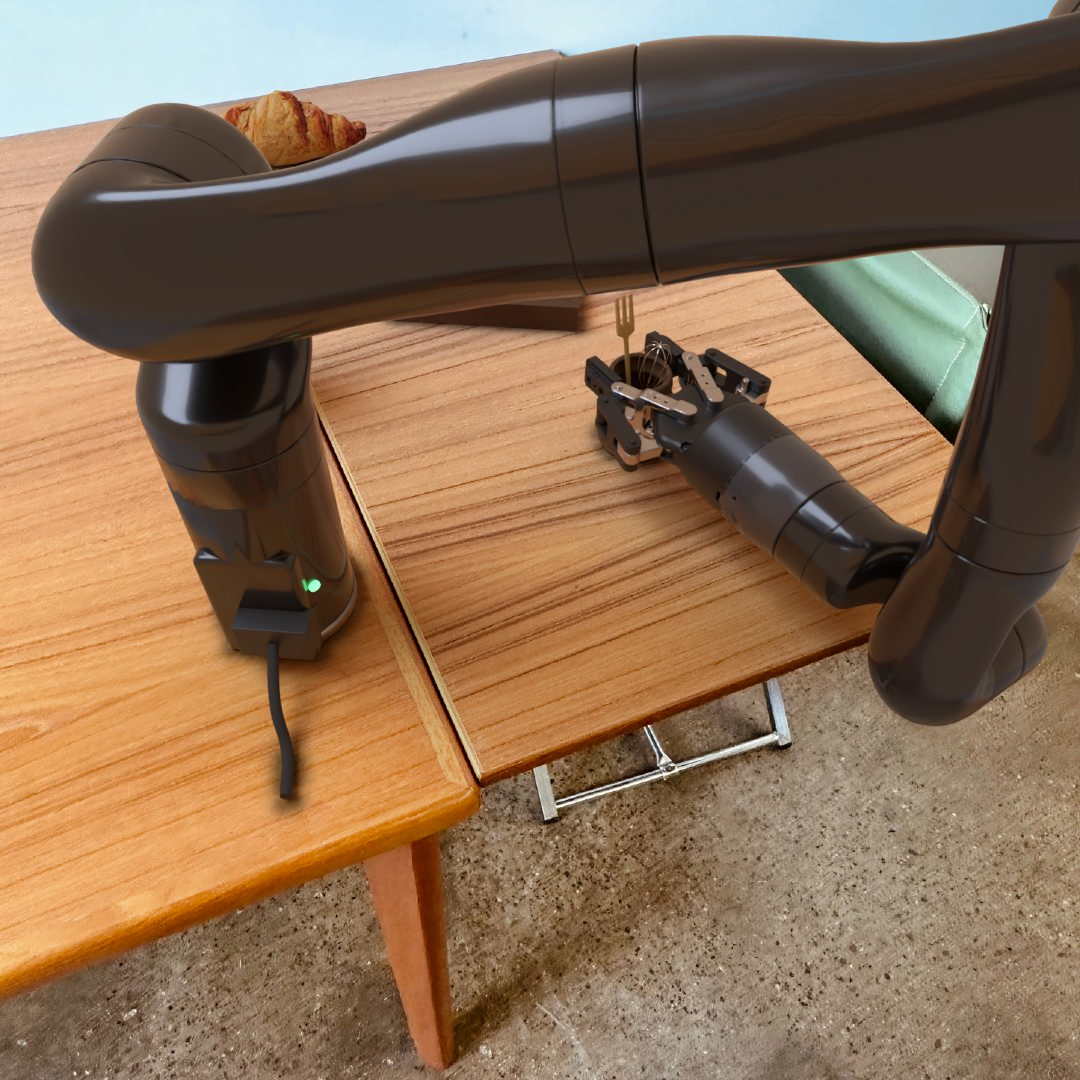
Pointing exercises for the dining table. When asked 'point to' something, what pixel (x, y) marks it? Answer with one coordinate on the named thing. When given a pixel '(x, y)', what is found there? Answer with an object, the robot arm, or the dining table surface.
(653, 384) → the utensil holder
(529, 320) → the tray
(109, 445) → the dining table surface
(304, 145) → the croissant
